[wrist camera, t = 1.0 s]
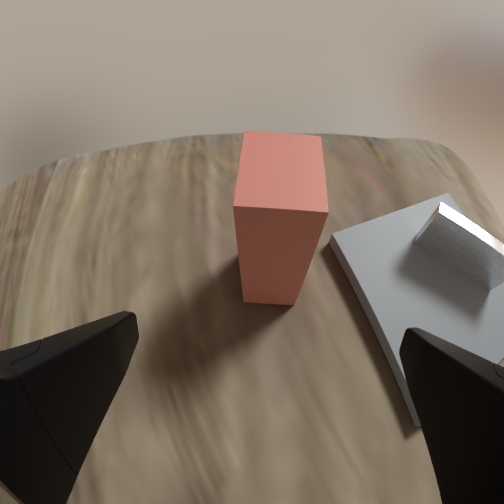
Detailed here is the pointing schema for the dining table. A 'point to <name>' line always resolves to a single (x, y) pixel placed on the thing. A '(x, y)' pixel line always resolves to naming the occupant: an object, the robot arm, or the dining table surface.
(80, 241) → the dining table surface
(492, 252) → the bookend
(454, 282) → the shelf board
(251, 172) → the boxed book
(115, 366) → the robot arm
